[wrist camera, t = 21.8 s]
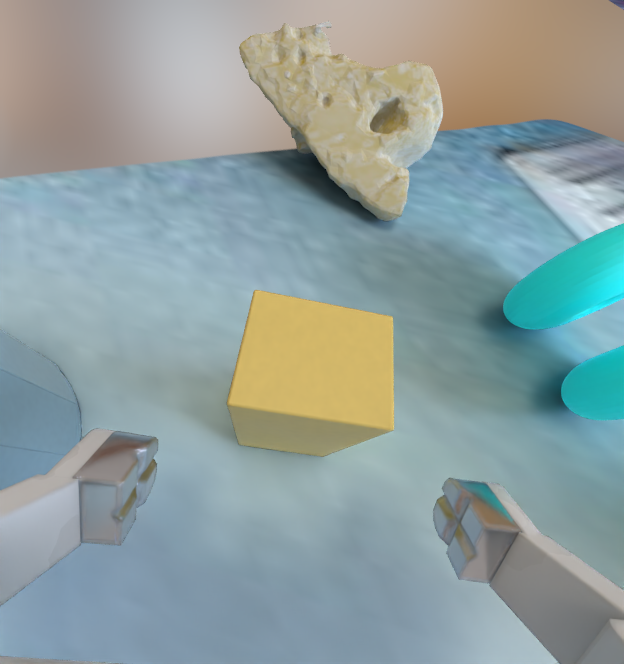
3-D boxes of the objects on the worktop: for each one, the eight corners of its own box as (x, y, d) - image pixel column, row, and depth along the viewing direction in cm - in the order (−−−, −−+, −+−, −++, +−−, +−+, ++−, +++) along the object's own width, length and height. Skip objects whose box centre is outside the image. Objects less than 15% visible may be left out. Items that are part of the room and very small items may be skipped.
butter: (324, 457, 18) (395, 430, 9) (238, 444, 17) (225, 404, 9) (329, 390, 20) (393, 315, 11) (252, 378, 19) (254, 288, 10)
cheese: (427, 215, 32) (417, 42, 28) (456, 208, 25) (449, -25, 21) (283, 240, 33) (254, 77, 29) (273, 240, 26) (232, 25, 22)
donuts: (553, 288, 28) (694, 198, 19) (633, 392, 24) (853, 340, 15) (468, 313, 25) (590, 219, 16) (546, 436, 21) (759, 403, 12)
